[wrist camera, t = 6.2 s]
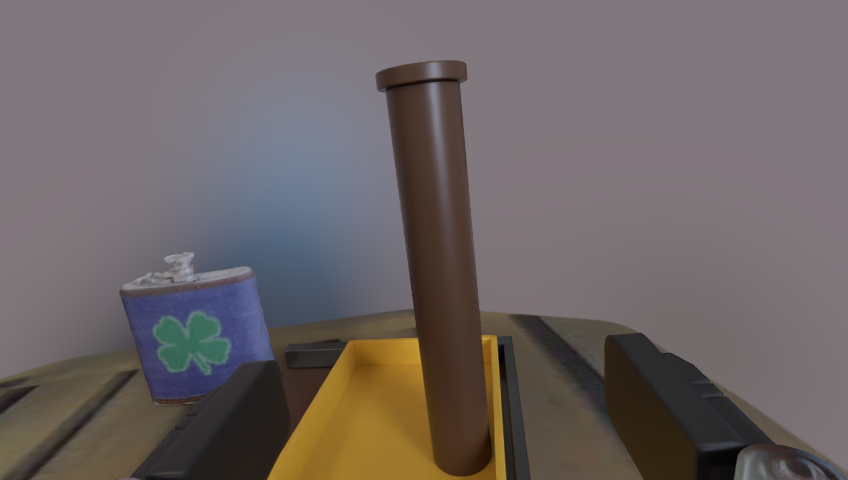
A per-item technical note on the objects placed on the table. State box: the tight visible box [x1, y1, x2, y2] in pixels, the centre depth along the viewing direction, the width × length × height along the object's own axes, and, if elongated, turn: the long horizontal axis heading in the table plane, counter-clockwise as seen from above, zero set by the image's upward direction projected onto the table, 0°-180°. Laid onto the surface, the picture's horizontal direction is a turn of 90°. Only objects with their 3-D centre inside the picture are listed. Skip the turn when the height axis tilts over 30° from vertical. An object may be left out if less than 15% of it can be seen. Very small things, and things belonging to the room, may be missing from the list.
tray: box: [267, 60, 507, 480], centre depth 18 cm, size 10×16×18 cm, turn 172°
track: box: [281, 336, 531, 480], centre depth 21 cm, size 16×20×2 cm
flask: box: [120, 252, 275, 405], centre depth 30 cm, size 9×3×11 cm, turn 93°
